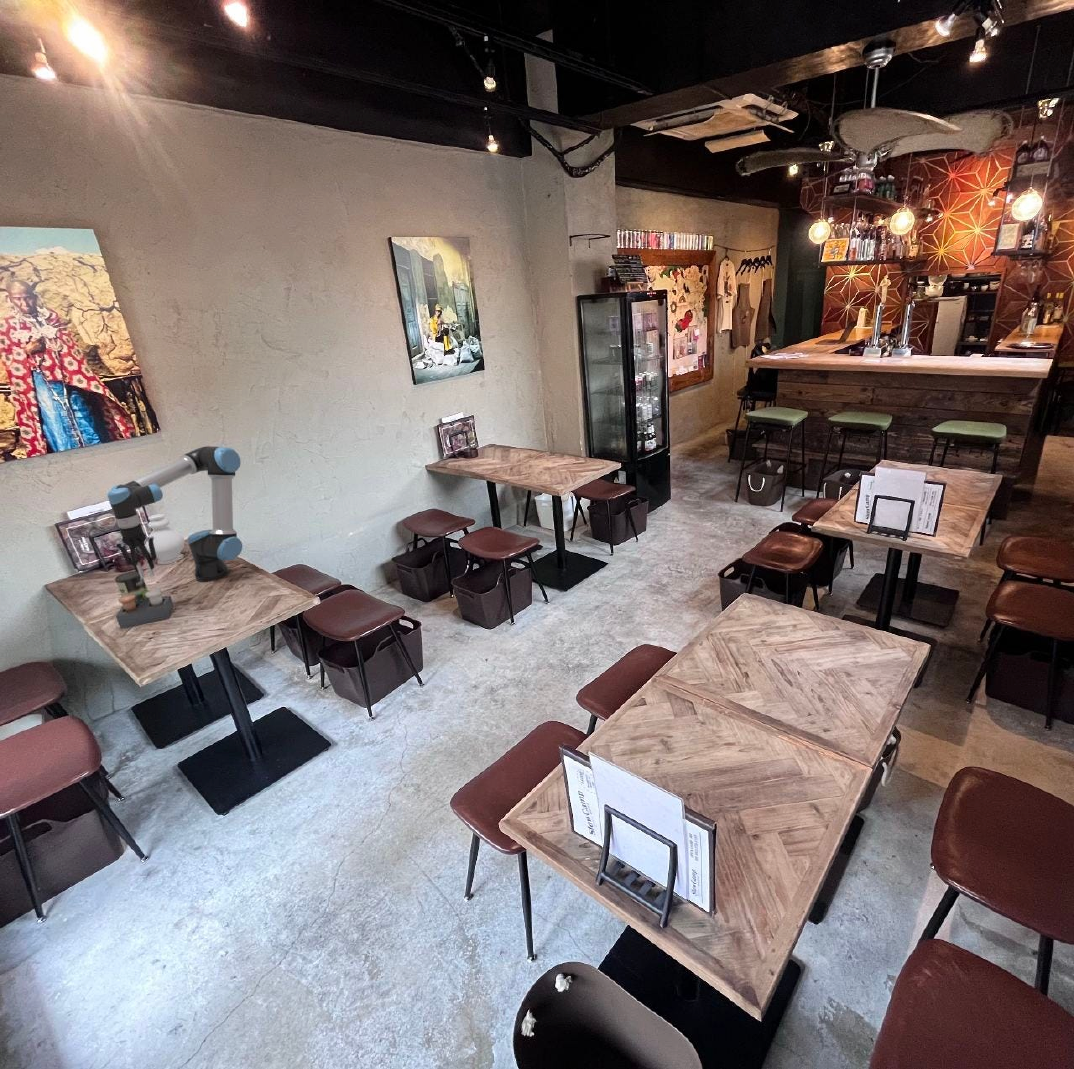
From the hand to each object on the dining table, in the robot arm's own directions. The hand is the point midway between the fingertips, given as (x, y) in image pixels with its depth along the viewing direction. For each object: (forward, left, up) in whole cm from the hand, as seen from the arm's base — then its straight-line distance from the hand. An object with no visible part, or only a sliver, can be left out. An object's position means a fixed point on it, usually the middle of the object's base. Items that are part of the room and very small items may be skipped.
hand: (147, 576), depth 246 cm
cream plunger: (0, 0, -14) cm, 14 cm away
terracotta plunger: (+10, 0, -14) cm, 17 cm away
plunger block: (+5, 0, -19) cm, 19 cm away
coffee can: (+13, -19, -19) cm, 30 cm away
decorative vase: (+9, -73, -19) cm, 76 cm away
